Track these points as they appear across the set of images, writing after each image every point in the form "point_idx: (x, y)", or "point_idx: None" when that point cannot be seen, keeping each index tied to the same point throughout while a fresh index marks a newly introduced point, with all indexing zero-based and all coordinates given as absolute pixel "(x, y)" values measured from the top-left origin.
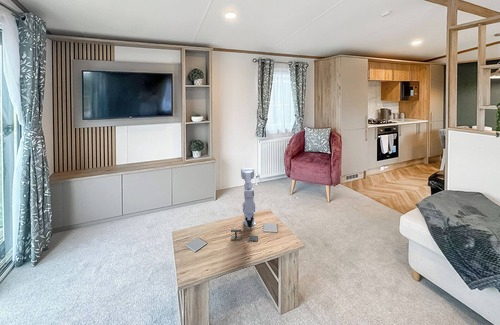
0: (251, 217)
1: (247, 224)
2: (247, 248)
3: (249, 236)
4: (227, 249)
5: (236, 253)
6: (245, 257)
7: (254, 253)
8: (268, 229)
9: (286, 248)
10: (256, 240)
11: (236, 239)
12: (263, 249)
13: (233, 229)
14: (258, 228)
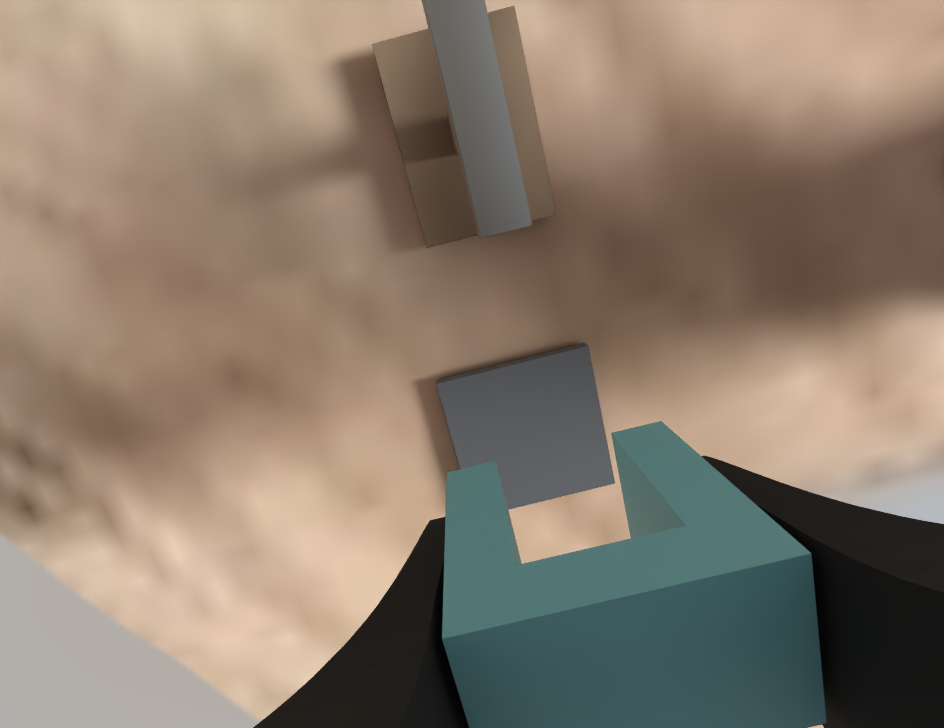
0: (814, 709)
1: (448, 537)
2: (246, 422)
3: (562, 360)
4: (89, 109)
5: (52, 307)
6: (23, 465)
7: (166, 547)
8: None
9: None
10: None
11: (405, 166)
12: (301, 623)
13: (476, 14)
14: (867, 409)
